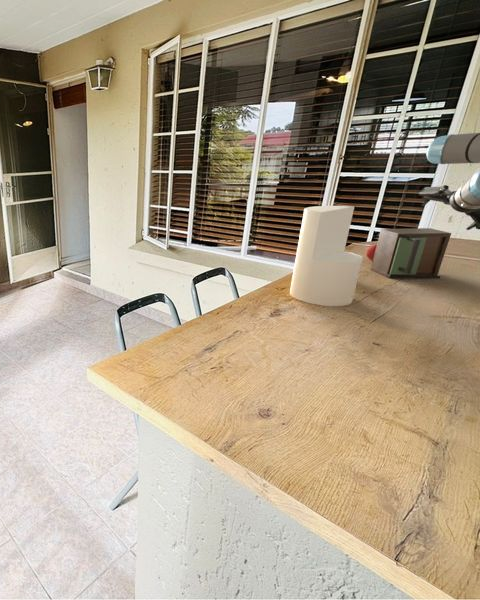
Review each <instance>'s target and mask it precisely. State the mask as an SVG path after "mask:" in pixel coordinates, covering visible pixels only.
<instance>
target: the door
mask: <svg viewBox="0 0 480 600" xmlns="http://www.w3.org/2000/svg"><path fill="white" fill-rule="evenodd" d="M426 239H427V238H426V237H420V238H412V237H408V238H399V241H398V245H397V248H396V252H395V255H394V259H393V262H392V266H391V270H390V273H389V274H396V275H416V272H417V269H418V265H419V262H420V259H421V256H422V252H423V249H424V246H425V243H426Z"/></svg>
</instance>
